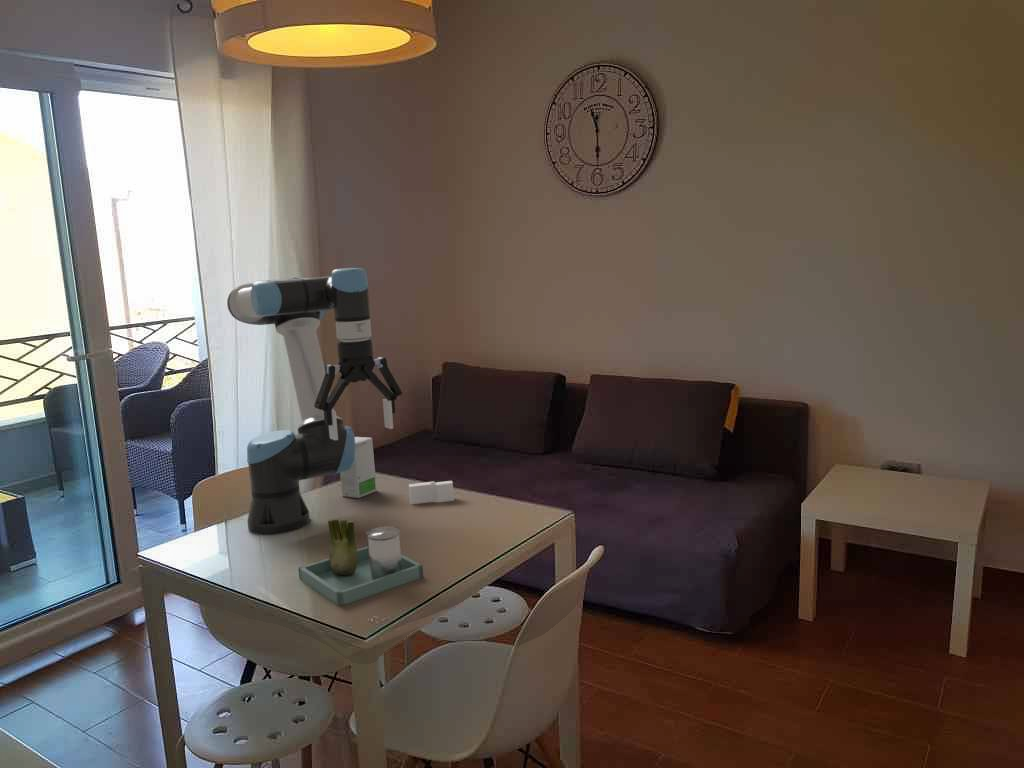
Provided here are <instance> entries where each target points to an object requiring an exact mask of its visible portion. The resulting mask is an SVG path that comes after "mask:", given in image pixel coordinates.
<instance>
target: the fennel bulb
mask: <svg viewBox="0 0 1024 768" xmlns="http://www.w3.org/2000/svg"><path fill="white" fill-rule="evenodd" d="M327 524H328V529H329V537H330V538H329V539H330V541H329V542H330V543H329V558H330V566H331V569H332V571H333V572H334V573H335V574H337V575H341V576H346V575H350V574H353V573H354V572H355V569H356V566H357V550H358V548H357V542H356V536H355V521H353V520H348V521H347V519H341V520H339V519H338V518H335V519H329V520H328V521H327Z"/></svg>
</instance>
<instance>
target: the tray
mask: <svg viewBox="0 0 1024 768" xmlns="http://www.w3.org/2000/svg"><path fill="white" fill-rule="evenodd" d="M401 564H402V570H401V571H398V572H395V573H392V574H389V575H386V576H383V577H381V578H378V579H375V580H372V581H371V574H370V563H369V551H368V545H367V546H364V547H361V548H357V566H356V569H355V572H354V573H353V574H350V575H346V576H341V575H337V574H335V573H334V572H333V571H332V569H331V566H330V557H328V558H326V559H322V560H319V561H316V562H311V563H308V564H305V565H302V566H298V576H299V580H300V581H302V582H303V583H304V584H306V585H307V586H309V587H310V588H312V589H313V590H315V591H317V592H318V593H319V594H321V596H324V597H326V599H328V600H329V601H330V602H333V603H334V604H335V605H337V606H338V607H341V606H344V605H348V604H350V603H353V602H356V601H359V600H361V599H365V598H367V597H368V598H369V597H370V596H373V595H376V594H379V593H382V592H385V591H388V590H391V589H393V588H397V587H399V586H402V585H404V584H408V583H410V582H413V581H417V580H419V579H423V578H424V567H423V564H421V563H419V562H417V561H415V560H413V559H411V558H409V557H407V556H405V555H403V554H401Z"/></svg>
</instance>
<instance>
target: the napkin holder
mask: <svg viewBox="0 0 1024 768" xmlns="http://www.w3.org/2000/svg"><path fill="white" fill-rule="evenodd" d="M408 493H409V494H408V495H409V503H410V505H418V504H426V503H445V502H454V501H455V497H454V496H455V495H454V483H453V480H447V481H446V480H445V481H437V482H435V481H426V482H418V483H410V484H408Z"/></svg>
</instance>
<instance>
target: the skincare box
mask: <svg viewBox="0 0 1024 768" xmlns="http://www.w3.org/2000/svg"><path fill="white" fill-rule="evenodd" d="M354 438H355V458H354V462H353V465H352V467H351V468H350V469H349V470H347V471H344V472H340V473H339V476H340V477H339V478H340V484H341V496H342V497H347V498H353V499H361V498H362V497H366V496H367V495H370V494H372V493H374V492H377V491H378V489H377V488H378V487H377V477H376V468H375V467H376V466H375V458H374V457H375V455H374V444H373V437H365V436H362V437H361V436H354Z"/></svg>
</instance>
